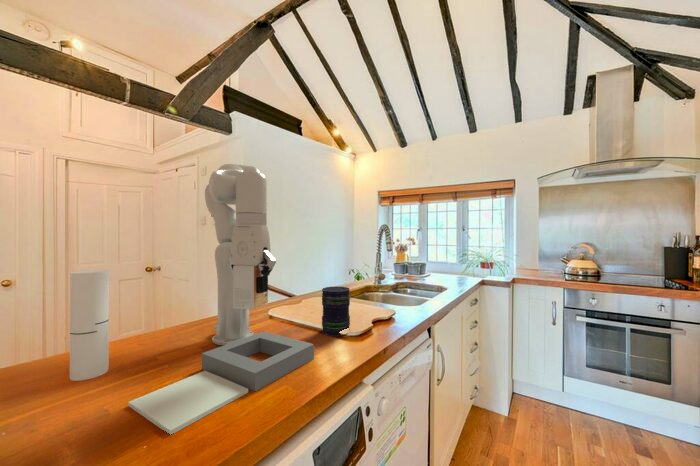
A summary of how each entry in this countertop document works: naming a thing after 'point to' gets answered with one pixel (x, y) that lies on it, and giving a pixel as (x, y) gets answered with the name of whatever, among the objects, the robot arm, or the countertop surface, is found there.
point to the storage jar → (335, 310)
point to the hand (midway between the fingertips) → (251, 290)
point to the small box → (246, 288)
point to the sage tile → (187, 400)
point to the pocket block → (253, 373)
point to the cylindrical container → (89, 324)
